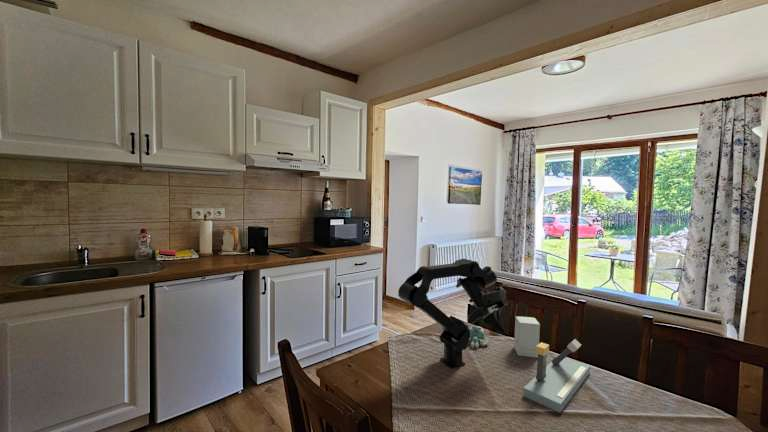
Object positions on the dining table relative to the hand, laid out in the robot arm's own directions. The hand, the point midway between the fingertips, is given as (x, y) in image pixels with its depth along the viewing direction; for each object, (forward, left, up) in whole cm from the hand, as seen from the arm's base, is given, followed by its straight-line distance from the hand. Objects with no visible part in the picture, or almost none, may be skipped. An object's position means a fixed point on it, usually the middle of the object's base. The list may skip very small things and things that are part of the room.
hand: (504, 332), depth 106 cm
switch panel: (+12, +12, -14) cm, 21 cm away
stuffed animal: (-21, +6, -14) cm, 26 cm away
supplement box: (-8, +19, -14) cm, 25 cm away
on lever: (+7, +17, -10) cm, 21 cm away
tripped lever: (+11, +4, -10) cm, 16 cm away
